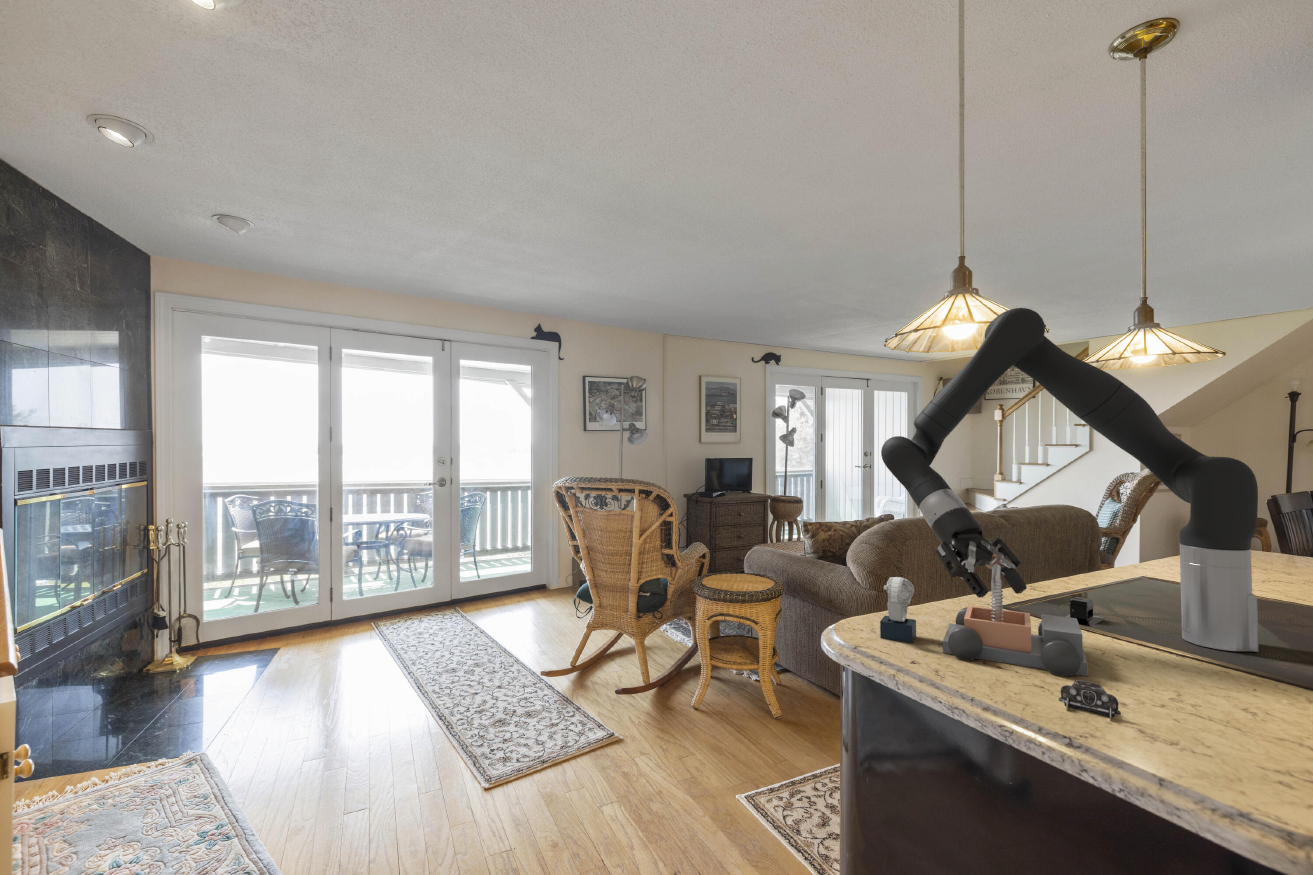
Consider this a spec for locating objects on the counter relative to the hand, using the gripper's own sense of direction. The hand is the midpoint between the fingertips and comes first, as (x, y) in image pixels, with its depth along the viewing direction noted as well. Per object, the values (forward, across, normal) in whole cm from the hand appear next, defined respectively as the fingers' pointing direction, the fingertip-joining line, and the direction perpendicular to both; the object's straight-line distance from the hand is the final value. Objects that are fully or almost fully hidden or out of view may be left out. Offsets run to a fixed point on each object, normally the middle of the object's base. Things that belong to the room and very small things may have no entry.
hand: (1003, 592), depth 99 cm
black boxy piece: (+1, +32, +15) cm, 36 cm away
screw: (+5, 0, +7) cm, 8 cm away
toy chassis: (+7, +1, +7) cm, 10 cm away
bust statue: (-2, -11, +16) cm, 20 cm away
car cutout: (+25, -7, -9) cm, 27 cm away
